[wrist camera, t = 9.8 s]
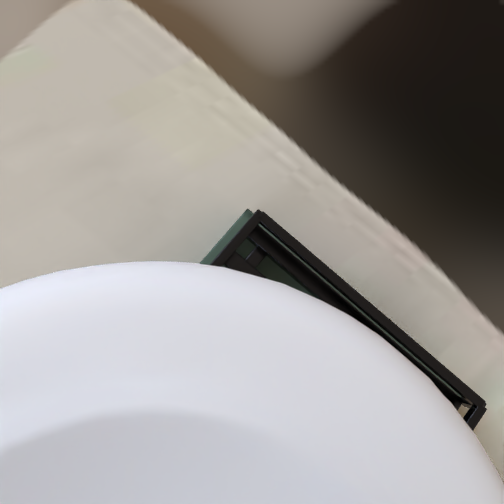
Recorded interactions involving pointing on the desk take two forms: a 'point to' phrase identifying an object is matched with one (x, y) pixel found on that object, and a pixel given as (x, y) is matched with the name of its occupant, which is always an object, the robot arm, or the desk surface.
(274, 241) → the rack
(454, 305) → the desk surface
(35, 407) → the sprinkles bottle
